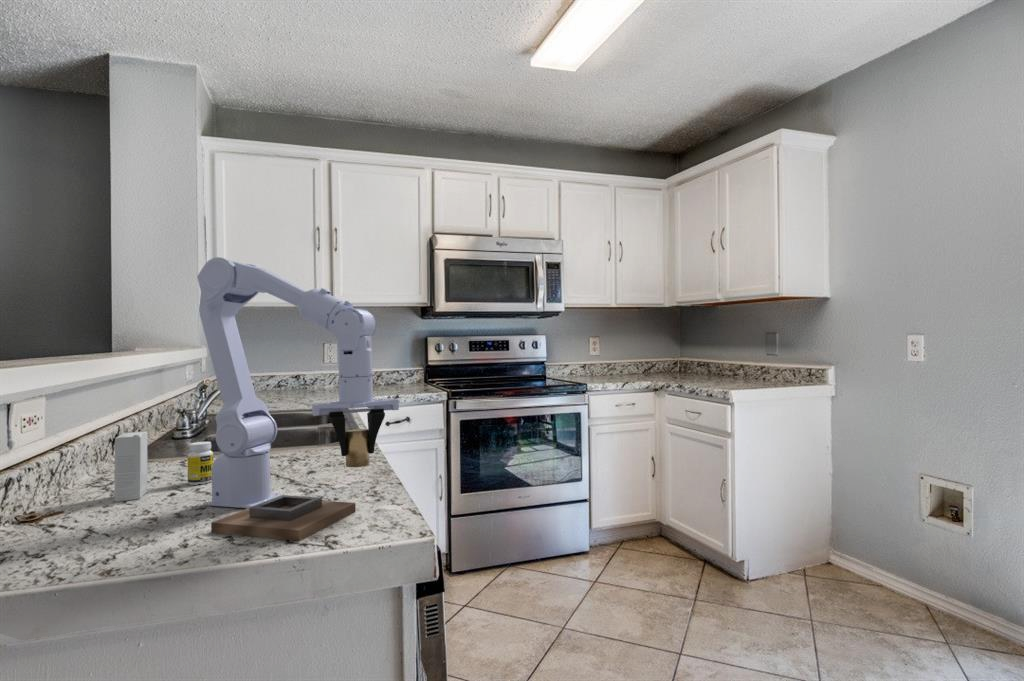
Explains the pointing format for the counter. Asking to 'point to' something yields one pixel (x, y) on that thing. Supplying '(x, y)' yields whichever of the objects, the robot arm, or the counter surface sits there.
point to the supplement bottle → (200, 463)
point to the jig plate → (284, 522)
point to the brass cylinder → (357, 447)
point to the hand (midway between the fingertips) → (357, 453)
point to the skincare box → (130, 466)
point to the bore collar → (275, 511)
